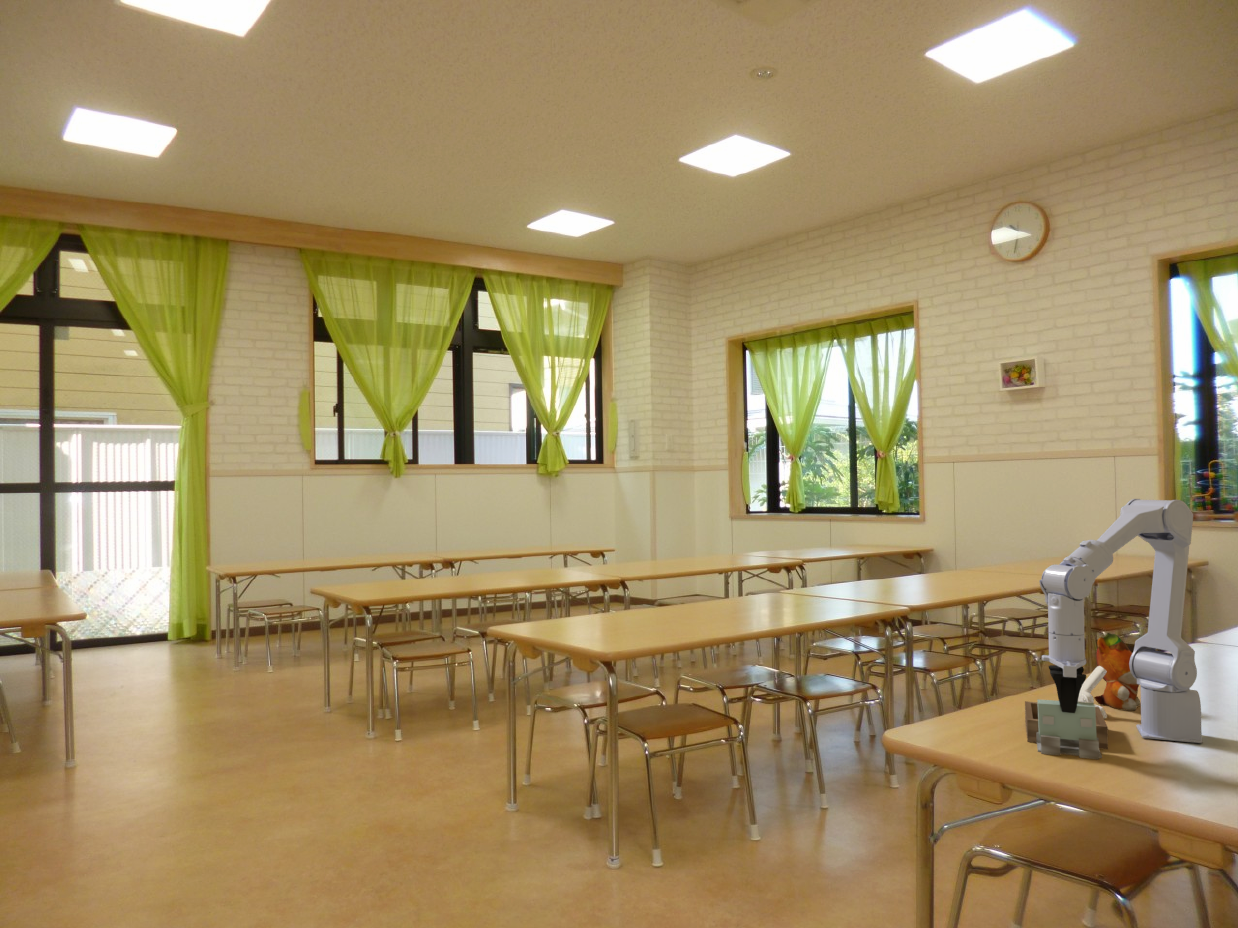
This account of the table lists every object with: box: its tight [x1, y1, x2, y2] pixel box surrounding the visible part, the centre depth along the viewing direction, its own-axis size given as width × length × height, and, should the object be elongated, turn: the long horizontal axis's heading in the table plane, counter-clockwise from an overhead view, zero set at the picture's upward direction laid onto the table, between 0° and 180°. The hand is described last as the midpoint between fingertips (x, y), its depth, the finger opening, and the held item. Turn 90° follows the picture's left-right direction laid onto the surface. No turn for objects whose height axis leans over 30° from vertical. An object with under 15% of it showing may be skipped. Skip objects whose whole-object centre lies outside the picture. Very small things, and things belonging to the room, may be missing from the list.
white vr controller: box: [1078, 665, 1108, 720], centre depth 180 cm, size 8×12×7 cm
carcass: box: [1024, 700, 1109, 760], centre depth 163 cm, size 13×21×4 cm, turn 157°
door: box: [1036, 698, 1097, 740], centre depth 157 cm, size 9×3×6 cm, turn 67°
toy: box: [1093, 632, 1141, 712], centre depth 187 cm, size 11×9×15 cm
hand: (1067, 709), depth 157 cm, fingers closed on door, 3 cm apart
